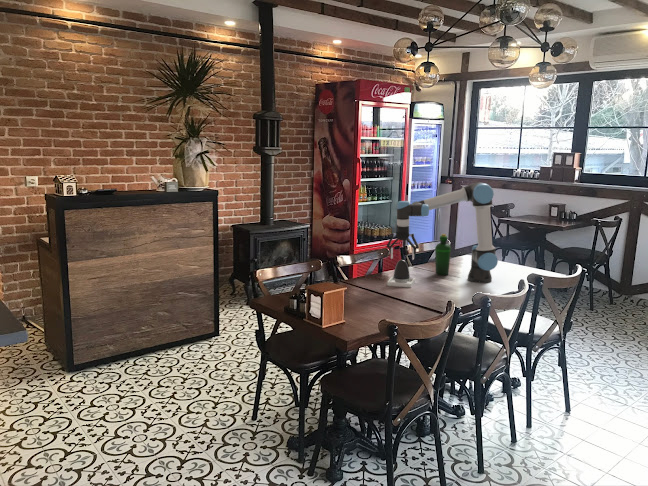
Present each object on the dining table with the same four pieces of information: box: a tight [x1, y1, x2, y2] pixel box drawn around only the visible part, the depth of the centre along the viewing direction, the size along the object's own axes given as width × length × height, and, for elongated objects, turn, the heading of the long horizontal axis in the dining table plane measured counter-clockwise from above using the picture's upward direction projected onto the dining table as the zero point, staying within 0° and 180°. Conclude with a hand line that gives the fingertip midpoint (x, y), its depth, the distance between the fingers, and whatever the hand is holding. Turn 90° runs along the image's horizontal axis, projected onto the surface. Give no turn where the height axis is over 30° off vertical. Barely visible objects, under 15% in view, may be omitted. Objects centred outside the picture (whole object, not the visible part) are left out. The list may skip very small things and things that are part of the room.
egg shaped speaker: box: [393, 259, 411, 283], centre depth 333 cm, size 10×10×15 cm
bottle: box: [434, 233, 452, 277], centre depth 357 cm, size 11×11×28 cm
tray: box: [386, 275, 416, 289], centre depth 335 cm, size 15×15×2 cm
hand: (402, 258), depth 332 cm, fingers open, 13 cm apart
